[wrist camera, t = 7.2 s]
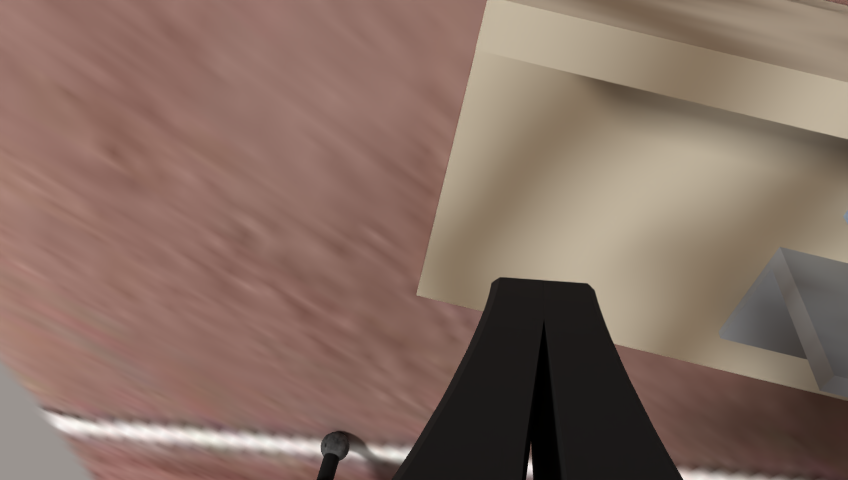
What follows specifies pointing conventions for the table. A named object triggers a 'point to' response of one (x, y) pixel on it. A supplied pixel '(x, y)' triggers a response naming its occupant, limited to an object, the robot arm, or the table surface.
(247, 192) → the table surface
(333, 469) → the microphone
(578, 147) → the wooden open box
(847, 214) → the grey-blue block
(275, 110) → the table surface
